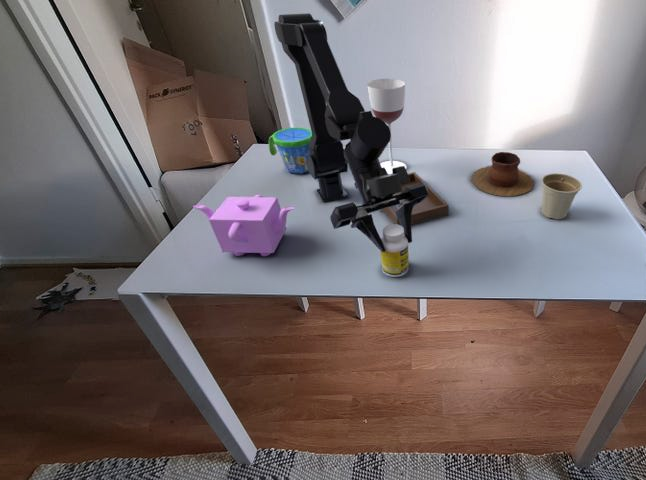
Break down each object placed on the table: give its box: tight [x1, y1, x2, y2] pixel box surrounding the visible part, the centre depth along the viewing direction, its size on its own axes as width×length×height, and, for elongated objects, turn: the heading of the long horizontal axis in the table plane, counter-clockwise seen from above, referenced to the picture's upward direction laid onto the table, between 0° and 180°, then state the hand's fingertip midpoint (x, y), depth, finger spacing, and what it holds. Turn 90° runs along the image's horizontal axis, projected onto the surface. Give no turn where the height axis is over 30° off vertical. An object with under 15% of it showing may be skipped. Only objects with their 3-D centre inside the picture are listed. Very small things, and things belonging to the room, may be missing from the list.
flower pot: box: [541, 172, 583, 220], centre depth 95 cm, size 9×9×9 cm
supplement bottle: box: [380, 223, 410, 278], centre depth 76 cm, size 5×5×10 cm
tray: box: [383, 171, 450, 225], centre depth 99 cm, size 20×14×3 cm
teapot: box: [192, 194, 296, 257], centre depth 81 cm, size 15×13×11 cm
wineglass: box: [367, 78, 407, 174], centre depth 107 cm, size 9×10×23 cm
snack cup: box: [268, 126, 312, 175], centre depth 109 cm, size 16×11×10 cm
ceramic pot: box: [470, 151, 535, 197], centre depth 108 cm, size 18×18×7 cm
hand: (397, 247), depth 74 cm, fingers closed on supplement bottle, 5 cm apart
